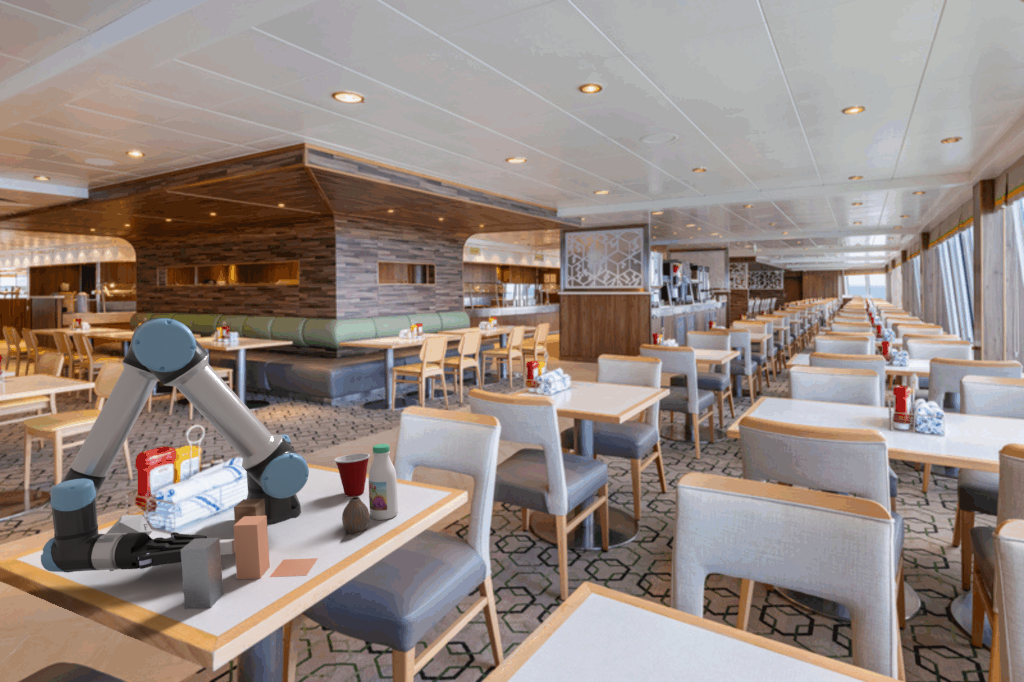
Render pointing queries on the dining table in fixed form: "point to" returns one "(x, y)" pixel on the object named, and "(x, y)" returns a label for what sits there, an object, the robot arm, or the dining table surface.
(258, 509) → the walnut post
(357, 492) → the plastic cup
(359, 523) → the vase
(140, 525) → the die
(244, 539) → the terracotta post
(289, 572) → the terracotta coaster
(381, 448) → the milk bottle
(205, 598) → the grey post
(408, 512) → the dining table surface
